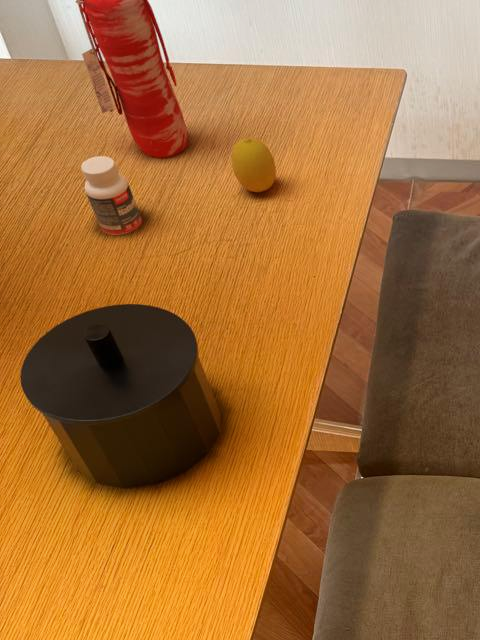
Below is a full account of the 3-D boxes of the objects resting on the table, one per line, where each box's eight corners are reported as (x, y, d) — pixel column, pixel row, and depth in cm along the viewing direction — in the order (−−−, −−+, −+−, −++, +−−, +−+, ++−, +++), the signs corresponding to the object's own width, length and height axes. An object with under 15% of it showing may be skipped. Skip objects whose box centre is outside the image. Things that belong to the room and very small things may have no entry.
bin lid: (13, 439, 83) (-12, 404, 79) (38, 321, 93) (18, 285, 89) (197, 418, 85) (181, 382, 81) (203, 305, 95) (190, 268, 91)
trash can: (64, 500, 92) (17, 430, 83) (81, 393, 101) (41, 320, 92) (219, 480, 93) (189, 410, 85) (223, 377, 102) (196, 304, 94)
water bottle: (107, 166, 127) (27, -27, 106) (119, 136, 131) (45, -55, 111) (193, 165, 127) (130, -28, 107) (202, 134, 132) (143, -56, 112)
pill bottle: (132, 240, 117) (107, 179, 110) (95, 236, 117) (67, 174, 110) (150, 217, 120) (126, 155, 113) (113, 212, 120) (87, 150, 113)
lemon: (256, 177, 126) (242, 122, 119) (289, 187, 124) (276, 133, 118) (232, 197, 123) (216, 142, 116) (265, 208, 121) (250, 153, 115)
